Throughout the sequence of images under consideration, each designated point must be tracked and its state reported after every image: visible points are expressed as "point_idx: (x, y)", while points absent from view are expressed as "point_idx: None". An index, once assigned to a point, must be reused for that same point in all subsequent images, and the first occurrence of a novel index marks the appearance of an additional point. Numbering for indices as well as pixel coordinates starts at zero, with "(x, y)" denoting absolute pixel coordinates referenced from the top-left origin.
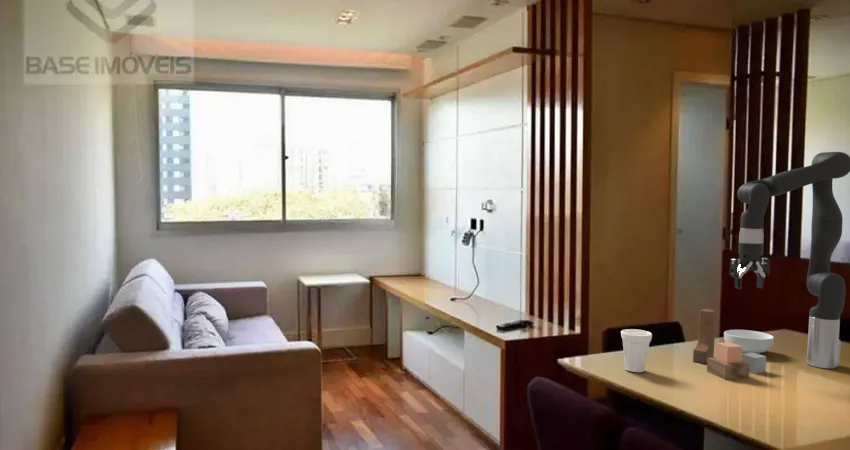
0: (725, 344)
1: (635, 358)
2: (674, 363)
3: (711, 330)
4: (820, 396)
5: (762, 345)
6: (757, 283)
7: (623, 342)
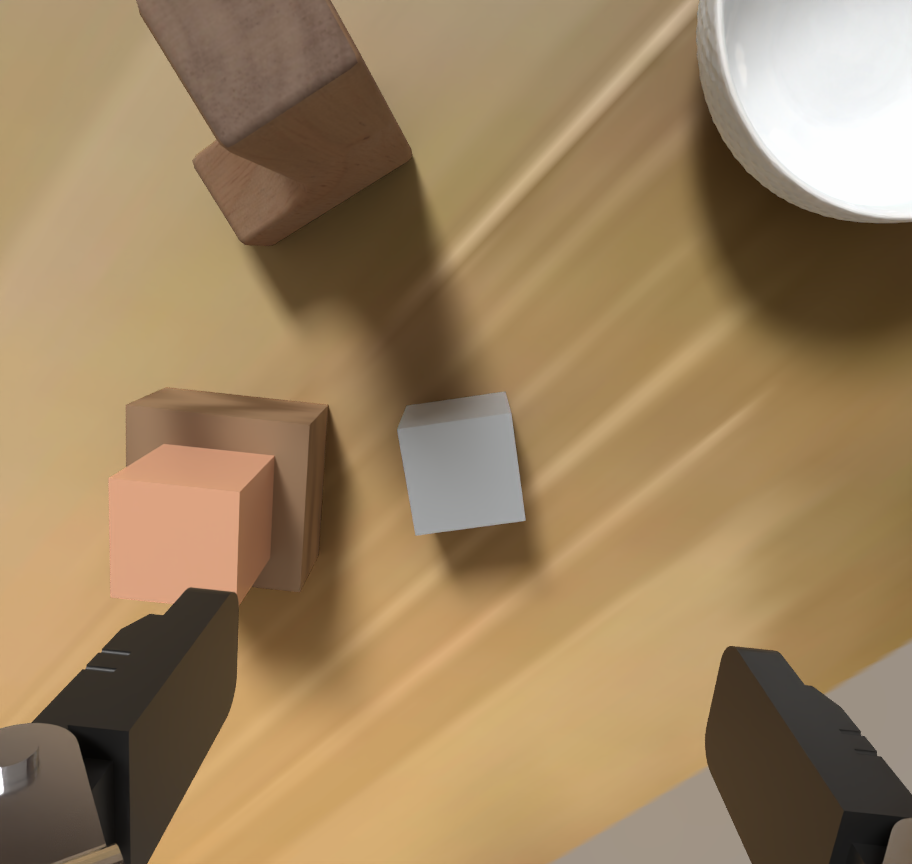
0: (145, 534)
1: None
2: (66, 175)
3: (292, 176)
4: (437, 846)
5: (833, 217)
6: (754, 712)
7: None
